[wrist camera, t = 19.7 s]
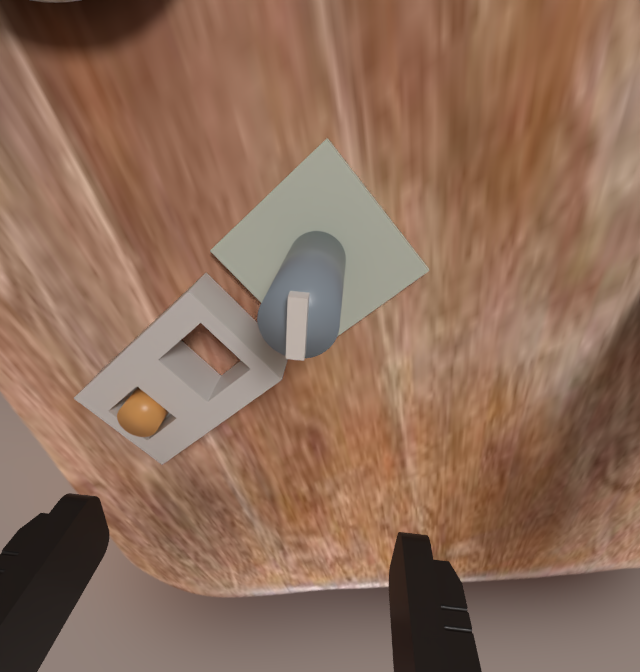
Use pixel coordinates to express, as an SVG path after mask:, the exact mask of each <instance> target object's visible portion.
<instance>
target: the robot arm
mask: <svg viewBox="0 0 640 672" xmlns="http://www.w3.org/2000/svg"><path fill="white" fill-rule="evenodd" d="M108 542H109V529H108V526H107V522H106V519H105V515H104V512H103V508H102V505H101V502H100V499H99V498H98V497H96V496H88V495H79V494H66V495H64V496H63V497H62V498H61V499H60V500H59V501H58V503H57V504H56V505H55V506H54V508H53V509H52V510H51V512H50V513H49V514H46V513H40V514H39V515H38V516H36V517H35V518H34V519H32V520H31V521H30V522H28V523H27V524H26V525H24V526H23V527H22V528H20V529H19V530H18V531H17V533H16V534H15V535H14V536H13V537H12V539H11V540H10V541H9V542H8V544H7V545H6V546H5V547H4V548H3V550H2V553H1V554H0V672H37V671H38V669H39V668H40V666H41V664H42V662H43V661H44V659H45V657H46V655H47V654H48V652H49V650H50V648H51V647H52V645H53V643H54V641H55V640H56V638H57V636H58V635H59V633H60V631H61V629H62V628H63V625H64V624H65V622H66V620H67V619H68V617H69V615H70V614H71V612H72V610H73V609H74V607H75V605H76V603H77V602H78V600H79V598H80V596H81V595H82V593H83V591H84V589H85V588H86V586H87V584H88V583H89V581H90V579H91V577H92V576H93V574H94V572H95V570H96V569H97V567H98V565H99V563H100V562H101V560H102V558H103V556H104V554H105V552H106V549H107V546H108ZM389 601H390V617H391V631H392V647H393V664H394V672H481V667H480V662H479V658H478V653H477V649H476V644H475V640H474V635H473V634H472V626H471V622H470V617H469V613H468V612H467V604H466V599H465V595H464V590H463V586H462V582H461V581H460V579H459V577H458V576H457V574H456V572H455V571H454V569H453V567H452V566H451V564H450V562H449V561H440V560H433V556H432V550H431V544H430V540H429V537H428V536H427V535H421V534H412V533H403V532H399V533H398V535H397V539H396V543H395V548H394V552H393V556H392V560H391V564H390V571H389Z"/></svg>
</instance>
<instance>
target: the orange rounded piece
mask: <svg viewBox="0 0 640 672" xmlns="http://www.w3.org/2000/svg"><path fill="white" fill-rule="evenodd" d="M167 414H168V411H167V410H166V409H165V408H163V407H162V406H161V405H160V404H158V403H157V402H156V401H155V400H153V399H152V398H151V397H150V396H148V395H147V394H146V393H145V392H144V391H142V390H141V389H140V388H139V387H137V388H136V390H135V391H134V392H133V393H132V395H131V396H130V397H129V398H128V400H127V401H126V402H125V403H124V405H123V406H122V407H121V408H120V410H119V411H118V413H117V420H118V422H119V424H120V426H121V427H122V428H123V429H124V430H125V431H127V432H128V433H130V434H132V435H134V436H138V437H148V436H151V435H153V434H154V433H155V432H156V431H157V430H158V428H159V426H160V425H161V423H162V422H163V420H164V418H165V417H166V415H167Z"/></svg>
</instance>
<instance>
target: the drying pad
mask: <svg viewBox="0 0 640 672" xmlns="http://www.w3.org/2000/svg"><path fill="white" fill-rule="evenodd" d="M311 231H322V232H326V233H328V234H331V235H332V236H334V237H335V238H336V239H337V240H338V241H339V242H340V243H341V245H342V246H343V248H344V251H345V255H346V265H345V275H344V286H343V296H342V307H341V317H340V328H339V333H338V336H339V335H340V334H341V333H343V332H344V331H346V330H347V329H348V328H350V327H351V326H353V325H354V324H355V323H357V322H358V321H360V320H361V319H362V318H364V317H365V316H367V315H368V314H369V313H371V312H372V311H374V310H375V309H376V308H378V307H379V306H381V305H382V304H383V303H385V302H386V301H388V300H389V299H390V298H392V297H393V296H395V295H396V294H397V293H399V292H400V291H402V290H403V289H404V288H406V287H407V286H409V285H410V284H411V283H413V282H414V281H416V280H417V279H418V278H420V277H421V276H423V275H424V274H425V273H427V272H428V271H429V269H428V267H427V265H426V264H425V263H424V262H423V260H422V259H421V258H420V256H419V255H418V254H417V253H416V251H415V250H414V249H413V247H412V246H411V245H410V244H409V242H408V241H407V240H406V238H405V237H404V236H403V235H402V233H401V232H400V231H399V229H398V228H397V227H396V226H395V224H394V223H393V222H392V220H391V219H390V218H389V216H388V215H387V214H386V213H385V211H384V210H383V209H382V207H381V206H380V205H379V204H378V202H377V201H376V200H375V198H374V197H373V196H372V195H371V193H370V192H369V191H368V189H367V188H366V187H365V186H364V184H363V183H362V182H361V180H360V179H359V178H358V177H357V175H356V174H355V173H354V171H353V170H352V169H351V168H350V166H349V165H348V164H347V162H346V161H345V160H344V158H343V157H342V156H341V155H340V153H339V152H338V151H337V149H336V148H335V147H334V146H333V144H332V143H331V142H330V140H329V139H328V138H327V139H326V140H325V141H324V142H323V143H322V144H321V145H319V146H318V147H317V148H316V149H315V150H314V151H313V152H312V153H311V154H310V155H309V156H308V157H307V158H306V159H305V160H304V161H303V162H302V163H301V164H300V165H299V166H298V167H297V168H296V169H295V170H293V171H292V172H291V173H290V174H289V175H288V176H287V177H286V178H285V179H284V180H283V181H282V182H281V183H280V184H279V185H278V186H277V187H276V188H275V189H274V190H273V191H272V192H271V193H270V194H269V195H267V196H266V197H265V198H264V199H263V200H262V201H261V202H260V203H259V204H258V205H257V206H256V207H255V208H254V209H253V210H252V211H251V212H250V213H249V214H248V215H247V216H246V217H245V218H244V219H243V220H241V221H240V222H239V223H238V224H237V225H236V226H235V227H234V228H233V229H232V230H231V231H230V232H229V233H228V234H227V235H226V236H225V237H224V238H223V239H222V240H221V241H220V242H219V243H218V244H217V245H215V246H214V247H213V248H212V249H211V250H210V251H211V252H212V253H213V254H214V255H215V256H216V257H217V258H218V259H219V260H220V262H221V263H222V264H223V265H224V266H225V267H226V268H227V269H228V270H229V271H230V272H231V273H232V274H233V275H234V276H235V277H236V278H237V279H238V280H239V281H240V282H241V283H242V284H243V285H244V286H245V287H246V288H247V289H248V290H249V291H250V292H251V293H252V294H253V295H254V296H255V297H256V298H257V299H258V300H259V301H260V302H261V303H262V301H263V299H264V297H265V295H266V294H267V292H268V290H269V288H270V286H271V284H272V282H273V280H274V278H275V276H276V275H277V273H278V271H279V269H280V267H281V265H282V263H283V261H284V259H285V258H286V256H287V254H288V252H289V250H290V248H291V246H292V244H293V243H294V241H295V240H296V239H297V238H298V237H300V236H301V235H303V234H305V233H307V232H311Z"/></svg>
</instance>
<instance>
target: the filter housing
mask: <svg viewBox="0 0 640 672" xmlns="http://www.w3.org/2000/svg"><path fill="white" fill-rule="evenodd" d="M200 323H201V324H203V325H204V326H205V327H206V328H207V329H208V330H209V331H210V332H211V333H212V334H213V335H214V336H215V337H217V338H218V339H219V340H220V341H221V342H222V343H223V344H224V345H225V346H226V347H227V348H228V349H229V350H231V351H232V352H233V353H234V354H235V355H236V356H237V357H238V358H239V359H240V360H241V361H239V362H238V363H237V364H235V365H234V366H233V367H232V368H230V369H229V370H228V371H226V372H225V373H224V374H223V375H220V374H219V373H217V372H216V371H215V370H214V369H213V368H212V367H211V366H210V365H209V364H207V363H206V362H205V361H204V360H203V359H202V358H201V357H200V356H198V355H197V354H196V353H195V352H194V351H193V350H192V349H191V348H189V347H188V346H187V345H186V344H185V343H184V342H183V341H182V340H181V339H183V338H184V337H185V336H186V335H187V334H188V333H189V332H191V331H192V330H193V329H194V328H195V327H196V326H197V325H199V324H200ZM287 360H288V359H286V356H285V355H282V354H280V353H278V352H277V351H275V350H274V349H273V348H271V347H270V346H269V345H268V344H267V343H266V341H265V340H264V339H263V337H262V335H261V333H260V330H259V327H258V323H257V322H256V321H255V320H254V319H253V318H252V317H251V316H250V315H249V314H248V313H247V312H246V311H245V310H244V309H243V308H242V307H241V306H240V305H239V304H238V303H237V302H236V301H235V300H234V299H233V298H232V297H231V296H230V295H229V294H228V293H227V292H226V291H225V290H224V289H223V288H222V287H221V286H220V285H219V284H218V283H216V282H215V281H214V280H213V279H212V278H211V277H210V276H209V275H208V274H207V273H205V274H204V275H203V276H202V277H201V278H200V279H199V280H197V281H196V282H195V283H194V284H193V285H192V286H191V287H190V288H189V289H188V290H187V291H186V292H185V293H184V294H183V295H181V296H180V297H179V298H178V299H177V300H176V301H175V302H174V303H173V304H172V305H171V306H170V307H169V308H168V309H166V310H165V311H164V312H163V313H162V314H161V315H160V316H159V317H158V318H157V319H156V320H155V321H154V322H153V323H152V324H150V325H149V326H148V327H147V328H146V329H145V330H144V331H143V332H142V333H141V334H140V335H139V336H138V337H137V338H136V339H134V340H133V341H132V342H131V343H130V344H129V345H128V346H127V347H126V348H125V349H124V350H123V351H122V352H121V353H119V354H118V355H117V356H116V357H115V358H114V359H113V360H112V361H111V362H110V363H109V364H108V365H107V366H106V367H105V368H103V369H102V370H101V371H100V372H99V373H98V374H97V375H96V376H95V377H94V378H93V379H92V380H91V381H90V382H89V383H88V384H87V385H86V386H85V387H84V388H83V389H82V390H81V391H80V392H79V393H78V394H77V395H76V396H75V397H74V399H75V400H77V401H78V402H79V403H81V404H82V405H83V406H85V407H86V408H87V409H89V410H90V411H91V412H93V413H94V414H95V415H97V416H98V417H99V418H101V419H102V420H103V421H105V422H106V423H107V424H109V425H110V426H111V427H113V428H114V429H115V430H117V431H118V432H119V433H121V434H122V435H123V436H125V437H126V438H127V439H129V440H130V441H131V442H133V443H134V444H135V445H136V446H138V447H139V448H140V449H142V450H143V451H144V452H146V453H147V454H148V455H150V456H151V457H152V458H154V459H155V460H156V461H158V462H159V463H160V464H162V465H163V464H164V463H165V462H167V461H168V460H170V459H171V458H173V457H174V456H175V455H177V454H178V453H180V452H181V451H182V450H184V449H185V448H187V447H188V446H189V445H191V444H192V443H194V442H195V441H196V440H198V439H199V438H201V437H202V436H203V435H205V434H206V433H208V432H209V431H210V430H212V429H213V428H215V427H216V426H218V425H219V424H220V423H222V422H223V421H225V420H226V419H227V418H229V417H230V416H232V415H233V414H234V413H236V412H237V411H239V410H240V409H241V408H243V407H244V406H246V405H247V404H248V403H250V402H251V401H253V400H254V399H256V398H257V397H258V396H260V395H261V394H263V393H264V392H265V391H267V390H268V389H270V388H271V387H272V386H274V385H275V384H277V383H278V382H279V381H281V380H282V378H283V374H284V371H285V367H286V364H287ZM137 387H139V388H140V389H141V390H142V391H144V392H145V393H146V394H147V395H148V396H150V397H151V398H152V399H153V400H155V401H156V402H157V403H158V404H160V405H161V406H162V407H163V408H165V409H166V410H167V411H168V414H167V415H166V417H165V418H164V420H163V422H162V423H161V425H160V426H159V428H158V430H157V431H156V432H155V433H154V434H153V435H151V436H148V437H138V436H134V435H132V434H130V433H128V432H127V431H125V430H124V429H123V428H122V427H121V426H120V424H119V422H118V420H117V413H118V411H119V410H120V408H121V407H122V406H123V405H124V403H125V402H126V401H127V400H128V398H129V397H130V396H131V395H132V393H133V392H134V391H135V390H136V388H137Z"/></svg>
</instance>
